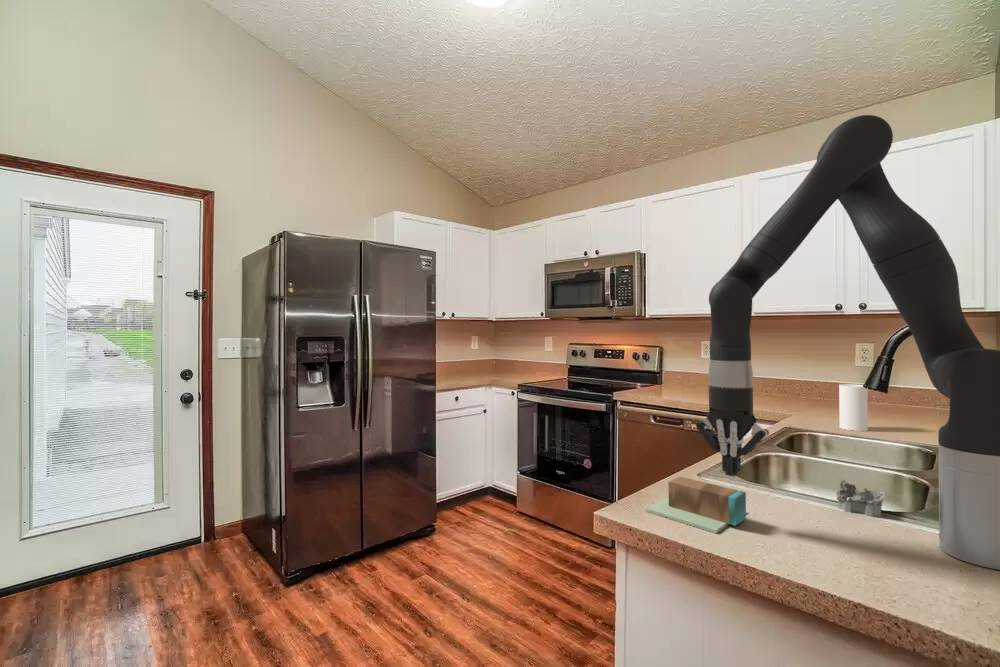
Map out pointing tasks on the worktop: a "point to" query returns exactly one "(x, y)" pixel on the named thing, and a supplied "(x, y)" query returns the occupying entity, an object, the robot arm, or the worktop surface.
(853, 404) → the cup
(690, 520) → the sage mat
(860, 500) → the grey miniature model
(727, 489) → the walnut block
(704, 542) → the worktop surface
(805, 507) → the worktop surface
